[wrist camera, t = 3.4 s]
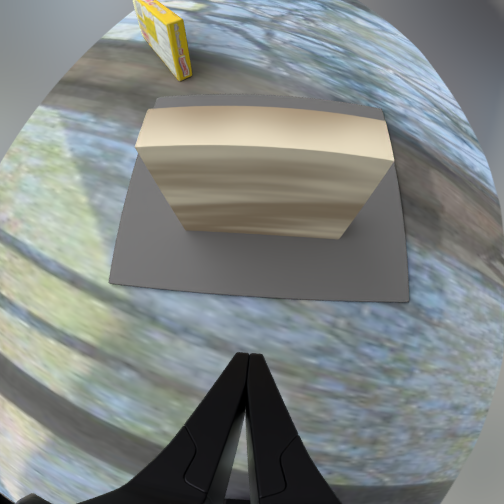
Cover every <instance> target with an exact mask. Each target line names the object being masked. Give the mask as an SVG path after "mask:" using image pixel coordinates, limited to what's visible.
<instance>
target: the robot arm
mask: <svg viewBox="0 0 504 504" xmlns="http://www.w3.org/2000/svg"><path fill="white" fill-rule="evenodd" d="M245 409H246V413H245ZM244 416H246V437H247V454H248V471H249V486H250V501H248V500H235V499H224V498H225V494H226V490H227V486H228V482H229V478H230V474H231V470H232V466H233V462H234V458H235V454H236V450H237V446H238V442H239V438H240V433H241V429H242V425H243V421H244ZM184 425H185V426H183V427H182V428H181V429H180V430H179V432H178V433H177V434H176V436H175V437H174V438H173V439H172V440H171V442H170V443H169V444H168V445H167V446H166V447H165V448H164V449H163V450H162V451H161V452H160V453H159V454H158V455H157V456H156V457H155V458H154V459H153V460H152V461H151V462H150V463H149V464H148V465H147V466H146V467H145V468H144V469H143V470H141V471H140V472H139V473H138V474H137V475H136V476H135V477H134V478H133V479H131V480H130V481H129V482H128V483H126V484H125V485H123V486H122V487H120V488H118V489H116V490H114V491H111V492H108V493H106V494H103V495H100V496H98V497H95V498H92V499H89V500H86V501H83V502H80V503H77V504H342V502H341V501H340V500H339V499H338V497H337V496H336V495H335V493H334V492H333V491H332V489H331V488H330V486H329V485H328V483H327V482H326V481H325V479H324V478H323V476H322V475H321V473H320V472H319V471H318V469H317V467H316V466H315V464H314V463H313V461H312V459H311V458H310V456H309V454H308V452H307V450H306V448H305V446H304V445H303V442H302V440H301V438H300V436H299V435H298V432H297V430H296V428H295V426H294V423H293V421H292V419H291V417H290V415H289V412H288V410H287V408H286V406H285V404H284V401H283V399H282V397H281V395H280V393H279V390H278V388H277V386H276V384H275V381H274V379H273V377H272V375H271V372H270V370H269V368H268V365H267V363H266V361H265V359H264V356H263V355H262V354H256V353H251V354H250V356H249V354H248V353H242V352H237V353H236V354H235V355H234V357H233V358H232V360H231V361H230V362H229V364H228V365H227V367H226V368H225V370H224V371H223V372H222V374H221V375H220V377H219V378H218V379H217V381H216V382H215V383H214V385H213V386H212V388H211V389H210V390H209V392H208V393H207V394H206V396H205V397H204V399H203V400H202V401H201V403H200V404H199V405H198V407H197V408H196V409H195V411H194V412H193V413H192V415H191V416H190V417H189V419H188V420H187V421H186V423H185V424H184ZM0 504H52V503H50V502H48V501H46V500H44V499H43V498H41V497H39V496H37V495H36V494H34V493H31V494H29V495H27V496H25V497H23V498H22V499H20V500H19V501H17V503H15V502H13V501H12V500H10V499H9V498H7V497H6V496H5V495H3V494H2V493H0Z"/></svg>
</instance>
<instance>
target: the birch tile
mask: <svg viewBox="0 0 504 504" xmlns="http://www.w3.org/2000/svg"><path fill="white" fill-rule="evenodd" d="M135 148H136V150H137V152H138V153H139V155H140V157H141V159H142V160H143V162H144V164H145V165H146V167H147V169H148V170H149V172H150V174H151V175H152V177H153V179H154V180H155V182H156V184H157V185H158V187H159V189H160V190H161V192H162V194H163V195H164V197H165V199H166V200H167V202H168V203H169V205H170V207H171V208H172V210H173V211H174V213H175V215H176V216H177V218H178V219H179V221H180V223H181V224H182V226H183V227H184V229H185V230H189V231H209V232H228V233H246V234H263V235H280V236H295V237H311V238H326V239H340V237H341V236H342V235H343V233H344V232H345V230H346V229H347V228H348V226H349V225H350V224H351V222H352V221H353V220H354V218H355V217H356V215H357V214H358V213H359V211H360V210H361V208H362V207H363V206H364V204H365V203H366V201H367V200H368V199H369V197H370V196H371V194H372V193H373V191H374V190H375V189H376V187H377V186H378V184H379V183H380V181H381V180H382V178H383V177H384V176H385V174H386V173H387V171H388V170H389V168H390V167H391V165H392V164H393V162H394V157H393V152H392V147H391V142H390V138H389V134H388V130H387V125H386V121H382V120H377V119H371V118H365V117H359V116H353V115H346V114H339V113H331V112H323V111H314V110H304V109H293V108H278V107H259V106H190V107H171V108H157V109H148V111H147V114H146V117H145V119H144V122H143V125H142V128H141V131H140V133H139V136H138V139H137V142H136V145H135Z"/></svg>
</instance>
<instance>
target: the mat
mask: <svg viewBox="0 0 504 504" xmlns="http://www.w3.org/2000/svg"><path fill="white" fill-rule="evenodd" d="M190 106H259V107H278V108H293V109H304V110H314V111H323V112H331V113H339V114H346V115H353V116H359V117H365V118H371V119H377V120H382V121H385V119H384V115H383V111H382V109H379V108H374V107H369V106H363V105H357V104H351V103H344V102H337V101H330V100H322V99H313V98H303V97H291V96H276V95H255V94H203V95H181V96H167V97H157V100H156V103H155V105H154V108H153V109H157V108H171V107H190ZM109 283H110V284H118V285H127V286H136V287H145V288H154V289H164V290H175V291H186V292H197V293H209V294H222V295H235V296H249V297H265V298H283V299H303V300H327V301H359V302H409V285H408V266H407V252H406V240H405V231H404V222H403V214H402V206H401V199H400V193H399V186H398V180H397V175H396V169H395V164H394V162H393V164H392V165H391V167H390V168H389V170H388V171H387V173H386V174H385V176H384V177H383V178H382V180H381V181H380V183H379V184H378V186H377V187H376V189H375V190H374V191H373V193H372V194H371V196H370V197H369V199H368V200H367V201H366V203H365V204H364V206H363V207H362V208H361V210H360V211H359V213H358V214H357V215H356V217H355V218H354V220H353V221H352V222H351V224H350V225H349V226H348V228H347V229H346V230H345V232H344V233H343V235H342V236H341V237H340V239H326V238H311V237H295V236H280V235H263V234H246V233H228V232H209V231H189V230H185V229H184V227H183V226H182V224H181V223H180V221H179V219H178V218H177V216H176V215H175V213H174V211H173V210H172V208H171V207H170V205H169V203H168V202H167V200H166V199H165V197H164V195H163V194H162V192H161V190H160V189H159V187H158V185H157V184H156V182H155V180H154V179H153V177H152V175H151V174H150V172H149V170H148V169H147V167H146V165H145V164H144V162H143V160H142V159H141V157H140V155H139V153H138V156H137V159H136V162H135V166H134V169H133V173H132V176H131V180H130V184H129V187H128V191H127V195H126V199H125V203H124V207H123V211H122V215H121V220H120V224H119V229H118V234H117V238H116V243H115V248H114V254H113V259H112V265H111V270H110V277H109Z"/></svg>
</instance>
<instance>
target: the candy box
mask: <svg viewBox="0 0 504 504" xmlns="http://www.w3.org/2000/svg"><path fill="white" fill-rule="evenodd" d="M133 4H134V8H135V11H136V15H137V19H138V23H139V26H140V30H141V34H142V36H143V37H144V39H145V40H146V41H147V42H148V43H149V45H150V46H151V47H152V48H153V50H154V51H155V52H156V53H157V55H158V56H159V57H160V58H161V59H162V61H163V62H164V63H165V64H166V66H167V67H168V68H169V70H170V71H171V72H172V73H173V75H174V76H175V77H176V78H177V80H178V81H182V80H184V79H186V78H188V77H190V76H192V69H191V63H190V57H189V51H188V44H187V38H186V32H185V27H184V21H183V19H181V18H180V17H179V16H177V15H176V14H175V13H173V12H172V11H171V10H169V9H168V8H167V7H165V6H164V5H162V4H161V3H160V2H158V1H157V0H133Z"/></svg>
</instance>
